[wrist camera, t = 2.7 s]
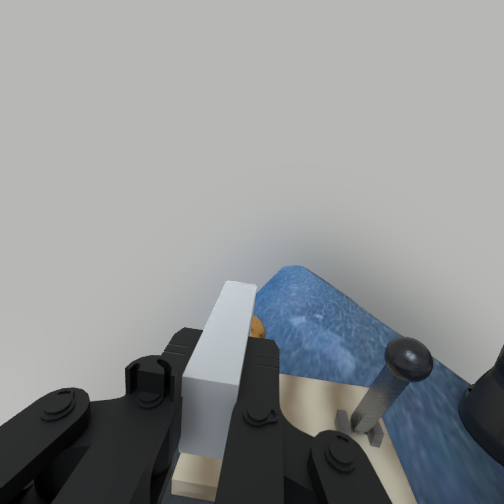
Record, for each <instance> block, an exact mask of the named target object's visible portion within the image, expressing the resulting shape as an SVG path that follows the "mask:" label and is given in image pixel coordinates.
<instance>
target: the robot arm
mask: <svg viewBox="0 0 504 504" xmlns="http://www.w3.org/2000/svg"><path fill="white" fill-rule="evenodd" d="M256 289H257V285H255V284H248V283H241V282H233V281H226V283H225V285H224V287H223V289H222V292H221V294H220V296H219V298H218V300H217V302H216V305H215V307H214V309H213V311H212V313H211V315H210V318H209V320H208V322H207V324H206V326H205V328H204V330H198V329H192V328H185V327H184V328H183V329H181V330H180V331H178V332H177V333H175V334H174V336H173V337H172V339H171V341H170V342H169V345H167V347H166V348H165V350H164V352H163V353H162V355H161V356H160V355H150V356H146V357H141V358H139V359H137V360H135V361H133V362H131V363H130V364H129V365H128V366H127V367H126V368H125V382H126V394H125V396H123V397H121V398H117V399H112V400H102V401H92V402H90V400H89V396H88V393H86V392H85V391H84V390H83V389H78V388H74V387H73V388H62V389H59V390H56V391H53V392H50V393H48V394H47V395H45V396H43V397H41V398H39V399H38V400H37V401H35V402H34V403H32V404H31V405H30V406H28V407H27V408H25V409H24V410H22V411H21V412H20V413H18V414H17V415H16V416H14V417H13V418H11V419H10V420H9V421H7V422H6V423H4V424H3V425H1V426H0V504H161V502H162V499H163V496H164V493H165V491H166V488H167V485H168V482H169V479H170V476H171V473H172V467H173V456H174V453H175V451H176V448H177V445H178V442H179V452H181V453H186V454H192V455H197V456H203V457H209V458H214V459H220V460H223V461H222V466H221V471H220V476H219V481H218V486H217V491H216V497H215V502H214V504H393V503H392V501H391V499H390V498H389V496H388V494H387V492H386V490H385V488H384V486H383V485H382V483H381V481H380V479H379V477H378V475H377V473H376V471H375V470H374V468H373V466H372V464H371V462H370V460H369V458H368V456H367V455H366V453H365V452H364V450H363V449H362V448H361V446H360V445H359V444H358V443H357V442H356V441H355V440H354V439H352V438H351V437H350V436H348V435H346V434H344V433H342V432H340V431H335V430H325V431H321V432H319V433H318V434H317V435H316V436H315V437H313V436H311V435H309V434H307V433H305V432H303V431H301V430H299V429H298V428H296V427H294V426H293V425H292V424H291V423H290V422H289V421H288V420H287V419H286V418H285V416H284V415H283V413H282V411H281V408H280V393H279V348H278V346H277V345H276V343H275V341H274V340H269V339H263V338H256V337H250V335H251V327H252V320H253V312H254V304H255V297H256ZM459 414H460V417H461V419H462V421H463V423H464V425H465V427H466V428H467V430H468V431H469V432H470V434H471V435H472V436H473V437H474V439H475V440H476V441H477V442H478V443H479V444H480V445H481V446H482V447H483V448H484V449H485V450H486V451H487V452H488V453H489V454H490V455H491V456H493V457H494V458H495V459H496V460H497V461H499V462H500V463H501V464H502V465H504V345H503V347H502V349H501V352H500V354H499V356H498V359H497V361H496V363H495V365H494V366H493V367H492V368H491V369H490V370H489V371H487V372H486V373H485V374H484V375H483V376H482V377H481V378H479V379H478V380H477V381H476V383H475V384H472V385H471V386H469V387H468V388H467V389H466V390H465V392H464V394H463V396H462V398H461V401H460V403H459Z"/></svg>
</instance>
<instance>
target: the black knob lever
mask: <svg viewBox="0 0 504 504" xmlns="http://www.w3.org/2000/svg"><path fill="white" fill-rule="evenodd" d="M384 358H385V363H386V364H385V366H384V367H383V369H382V370H381V372H380V373H379V375H378V376H377V378H376V379H375V381H374V382H373V384H372V385H371V387H370V388H369V390H368V391H367V393H366V394H365V396H364V397H363V399H362V400H361V402H360V403H359V405H358V406H357V408H356V409H355V411H354V412H353V414H352V415H351V419H350V426H351V431H352V432H353V433H357V434H363V435H367V434H368V432H369V431H370V430H371V429H372V428H373V426H374V425H375V424H376V423H377V421H378V420H379V419H380V418H381V417H382V415H383V414H384V413H385V412H386V411H387V409H388V408H389V407H390V406H391V405H392V403H393V402H394V401H395V400H396V399H397V397H398V396H399V395H400V394H401V393H402V391H403V390H404V389H405V388H406V386H407V385H408V384H409V383H410V382H419V381H422V380H424V379H426V378H427V377H428V376H429V375H430V373H431V371H432V368H433V359H432V356H431V354H430V352H429V350H428V349H427V348H426V346H425V345H424V344H422V343H421V342H420V341H418V340H416V339H413V338H410V337H399V338H396V339H394V340H392V341H391V342H390V343H389V344H388V345H387V347H386V349H385V353H384Z"/></svg>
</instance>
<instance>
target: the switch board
mask: <svg viewBox="0 0 504 504" xmlns="http://www.w3.org/2000/svg"><path fill="white" fill-rule="evenodd" d="M368 390H369V388H367V387H361V386H355V385H348V384H342V383H336V382H329V381H323V380H317V379H310V378H304V377H298V376H291V375H285V374H279V393H280V408H281V411H282V413H283V415H284V416H285V418H286V419H287V420H288V421H289V422H290V423H291V424H292V425H293V426H294V427H296V428H298V429H299V430H301V431H303V432H305V433H307V434H309V435H311V436H313V437H315V436H316V435H317V434H318V433H319V432H321V431H325V430H335V431H340V432H342V433H344V434H346V435H348V436H350V437H351V438H352V439H354V440H355V441H356V442H357V443H358V444H359V445H360V446H361V448H362V449H363V450H364V452H365V453H366V455H367V456H368V458H369V460H370V462H371V464H372V466H373V468H374V470H375V471H376V473H377V475H378V477H379V479H380V481H381V483H382V485H383V486H384V488H385V490H386V492H387V494H388V496H389V498H390V499H391V501H392V503H393V504H417V502H416V499H415V497H414V494H413V492H412V490H411V487H410V485H409V482H408V480H407V478H406V475H405V473H404V470H403V468H402V466H401V463H400V461H399V458H398V456H397V453H396V451H395V449H394V446H393V444H392V441H391V439H390V437H389V434H388V432H387V429H386V427H385V425H384V422H383V420H382V417H381V418H380V419H379V420H378V421H377V423H376V424H375V425H374V426H373V428H372V429H371V430H370V431H369V432H368V434H367V435H363V434H357V433H353V432H352V431H351V426H350V419H351V415H352V414H353V412H354V411H355V409H356V408H357V406H358V405H359V403H360V402H361V400H362V399H363V397H364V396H365V394H366V393H367V391H368ZM222 461H223V460H220V459H214V458H209V457H203V456H197V455H192V454H186V453H181V454H180V457H179V460H178V463H177V466H176V469H175V471H174V474H173V477H172V490H171V494H175V495H180V496H185V497H191V498H196V499H201V500H207V501H212V502H215V497H216V491H217V486H218V481H219V476H220V471H221V466H222Z"/></svg>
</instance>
